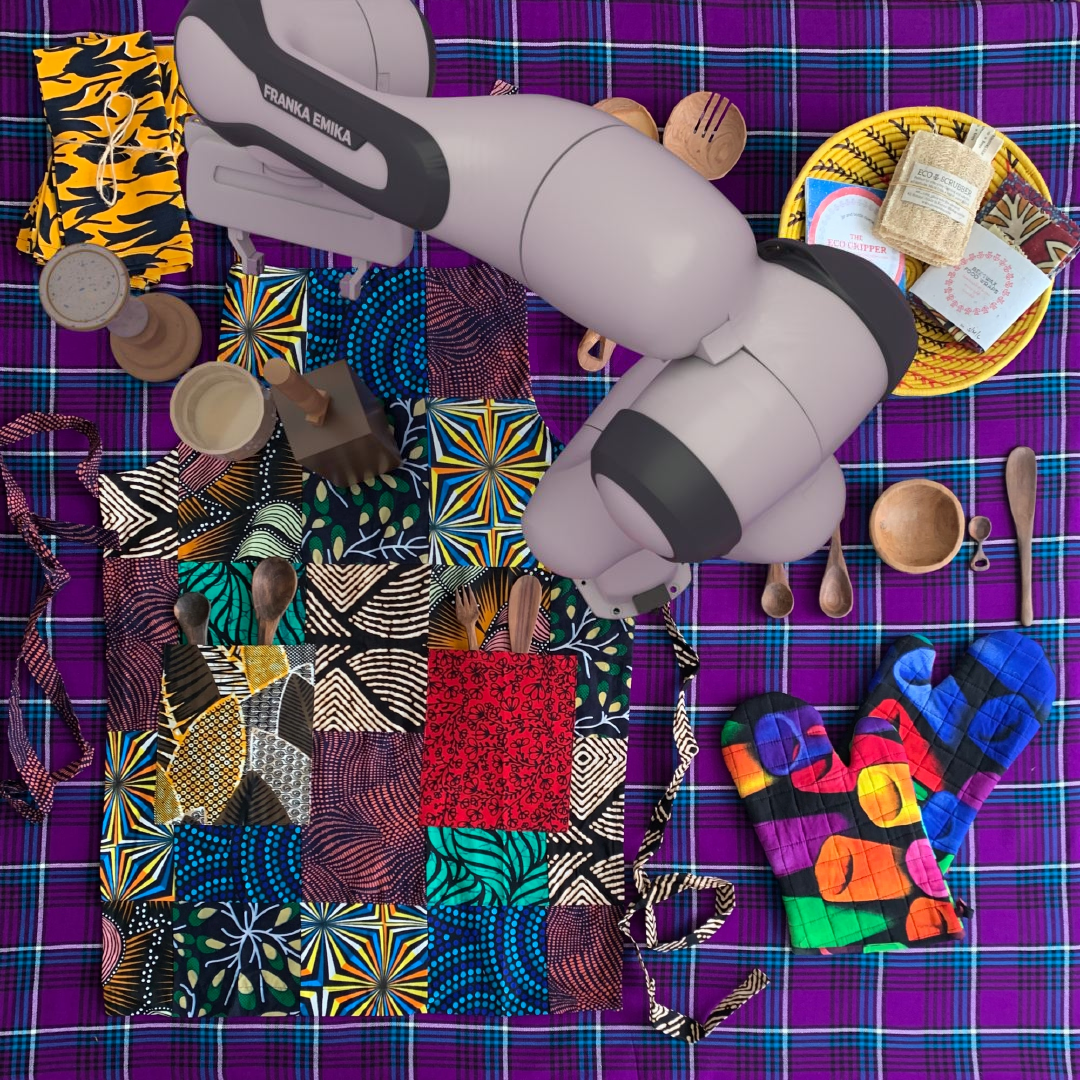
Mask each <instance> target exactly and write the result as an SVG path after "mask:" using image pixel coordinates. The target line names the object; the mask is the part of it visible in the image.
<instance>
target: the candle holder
mask: <svg viewBox="0 0 1080 1080" xmlns="http://www.w3.org/2000/svg"><path fill="white" fill-rule="evenodd" d="M38 296H39V299H40V303H41V306H42V308H43V310H44V311H45V313H46V314H47V315H48V316H49V317H50V318H51V320H52V321H54V322H55V323H56V324H57V325H59V326H61V327H63V328H64V329H67V330H71V331H73V332H85V333H86V332H93V331H97V330H100V329H103V328H107V330H108V331H109V332H110V335H109V342H110V348H111V353H112V354H113V357H114V359H115V360H116V362H117V364H118V365H119V366H120V368H122V370H124V371H125V372H126V373H127V374H128V375H130V376H132V377H133V378H136V379H138V380H140V381H143V382H148V383H149V382H150V383H161V382H167V381H171V380H173V379H175V378H178V377H180V376H181V375H182V374H184V373H186V371H188V370H189V369H190V368H191V366H192V365H193V364H194V363H195V361H196V359H197V357H198V356H199V354H200V351H201V348H202V344H203V343H202V341H203V340H202V339H203V331H202V327H201V322H200V320H199V318H198V316H197V314H196V312H195V311H194V310H193V309H192V308H191V306H190V305H189V304H188V303H186V301H184V300H182V299H181V298H179V297H177V296H174V295H172V294H170V293H164V292H149V293H144V294H140V295H138V296H135V295H133V294H131V278H130V274H129V271H128V269H127V266H126V265H125V262H124V261H123V260H122V258H120V256H118V254H117V253H116V252H114V251H113V250H111V249H109V248H108V247H106V246H104V245H101V244H98V243H95V242H76V243H73V244H70V245H67V246H64V247H63V248H61V249H59V250H57V252H55V253H54V254H53V255H52V256H51V257H50V258H49V259H48V260H47V261H46V263H45V265H44V267H43V268H42V270H41V273H40V276H39V281H38Z"/></svg>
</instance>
